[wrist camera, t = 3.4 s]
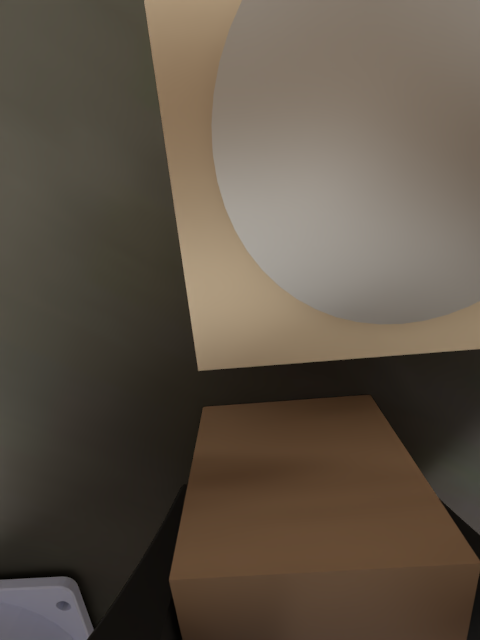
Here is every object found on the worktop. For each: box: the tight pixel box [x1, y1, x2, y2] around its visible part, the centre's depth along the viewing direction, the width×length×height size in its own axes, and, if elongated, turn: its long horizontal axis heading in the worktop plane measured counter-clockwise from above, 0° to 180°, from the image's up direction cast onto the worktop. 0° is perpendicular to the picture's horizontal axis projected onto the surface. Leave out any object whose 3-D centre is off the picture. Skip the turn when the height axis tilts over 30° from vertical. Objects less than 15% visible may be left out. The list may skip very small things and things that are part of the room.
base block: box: [144, 0, 480, 371], centre depth 7 cm, size 8×8×3 cm
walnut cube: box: [169, 395, 480, 640], centre depth 9 cm, size 5×5×5 cm
